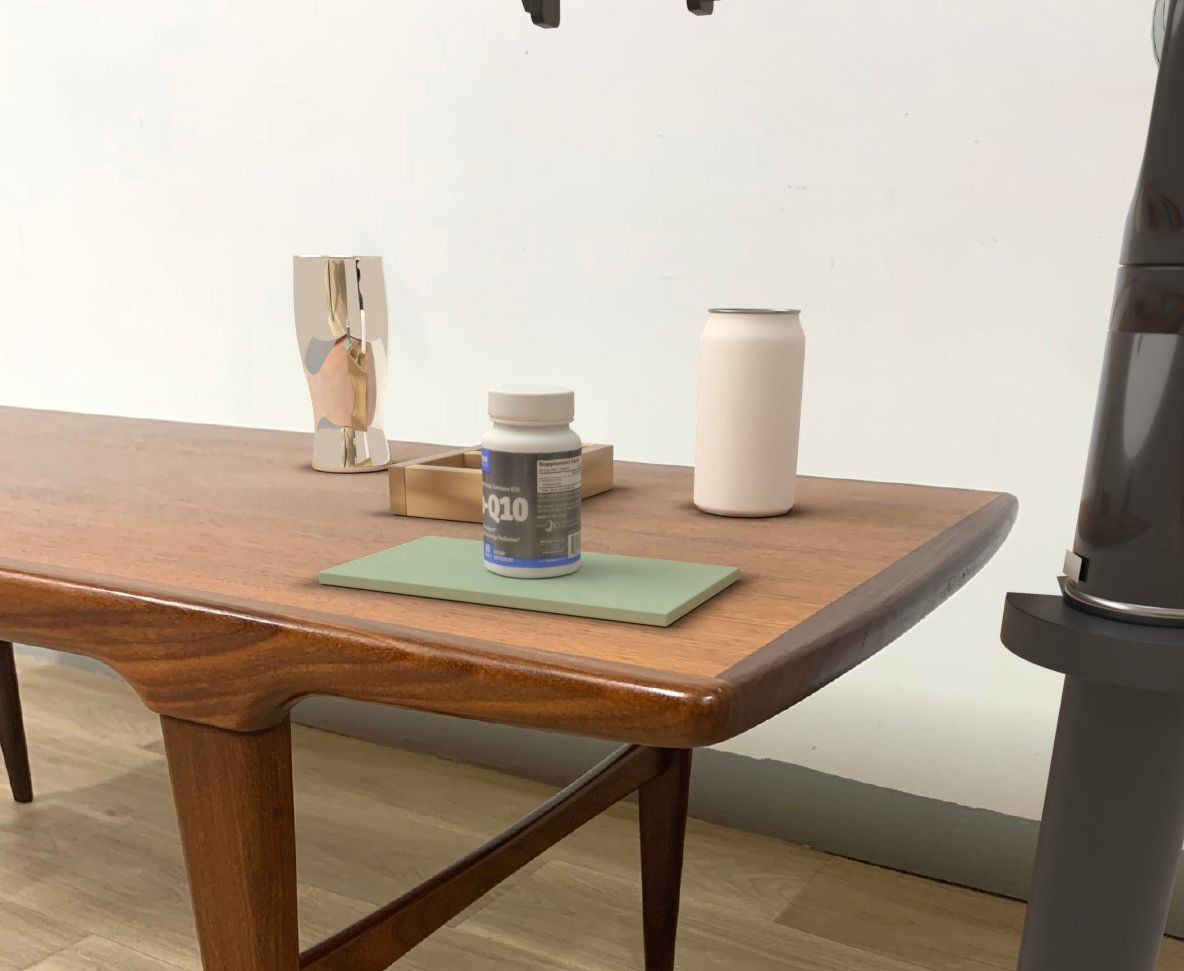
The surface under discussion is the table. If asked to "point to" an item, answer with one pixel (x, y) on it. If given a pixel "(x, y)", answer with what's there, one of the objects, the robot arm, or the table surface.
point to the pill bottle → (531, 483)
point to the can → (748, 411)
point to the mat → (539, 581)
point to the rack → (472, 482)
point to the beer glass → (344, 357)
